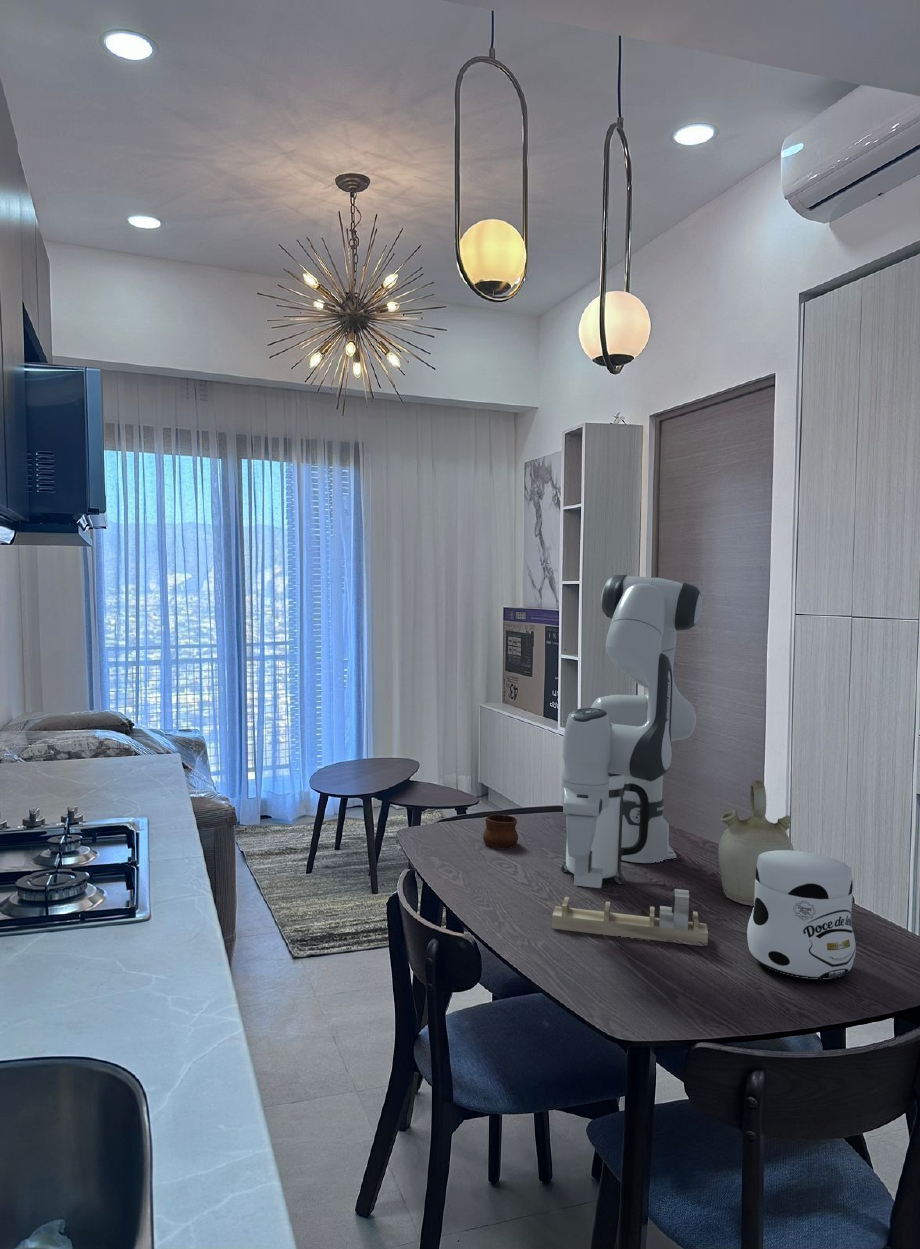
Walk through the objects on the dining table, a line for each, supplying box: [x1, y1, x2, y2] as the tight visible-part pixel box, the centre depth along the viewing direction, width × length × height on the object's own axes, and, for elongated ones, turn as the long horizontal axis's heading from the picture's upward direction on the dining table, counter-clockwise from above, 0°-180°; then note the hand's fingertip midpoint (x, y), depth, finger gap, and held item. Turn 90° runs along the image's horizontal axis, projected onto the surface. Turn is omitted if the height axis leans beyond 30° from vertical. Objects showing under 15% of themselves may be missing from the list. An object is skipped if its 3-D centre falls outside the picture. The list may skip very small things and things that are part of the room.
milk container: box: [746, 850, 857, 979], centre depth 149 cm, size 17×17×18 cm
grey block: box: [573, 851, 603, 889], centre depth 163 cm, size 4×5×6 cm
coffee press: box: [560, 773, 649, 885], centre depth 193 cm, size 17×16×30 cm
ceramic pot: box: [482, 813, 519, 849], centre depth 216 cm, size 18×18×7 cm
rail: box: [551, 888, 709, 944], centre depth 161 cm, size 5×28×8 cm, turn 77°
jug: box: [717, 780, 795, 902], centre depth 183 cm, size 15×16×25 cm
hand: (581, 868), depth 163 cm, fingers closed on grey block, 4 cm apart
